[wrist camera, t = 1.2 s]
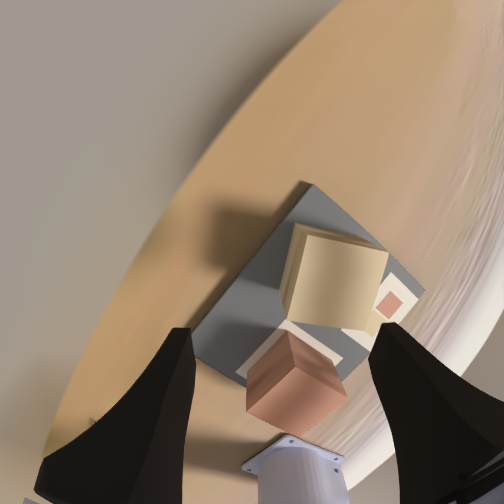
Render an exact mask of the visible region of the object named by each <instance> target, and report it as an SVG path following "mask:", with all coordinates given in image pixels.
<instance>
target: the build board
mask: <svg viewBox="0 0 504 504" xmlns="http://www.w3.org/2000/svg"><path fill="white" fill-rule="evenodd" d="M294 223H300V224H305V225H309V226H314V227H319V228H323V229H328V230H332V231H337V232H341V233H346V234H350V235H355V236H359V237H362V238H364V239H365V240H367V241H369V242H371V243H373V244H375V245H376V246H378V247H380V248H382V249H384V250H385V251H387V250H386V249H385V248H384V247H383V246H382V245H381V244H380V243H379V242H378V241H377V240H376V239H375V238H374V237H373V236H372V235H370V234H369V233H368V232H367V231H366V230H365V229H364V228H363V227H362V226H361V225H360V224H359V223H358V222H356V221H355V220H354V219H353V218H352V217H351V216H350V215H349V214H348V213H347V212H345V211H344V210H343V209H342V208H341V207H340V206H339V205H338V204H336V203H335V202H334V201H333V200H332V199H331V198H330V197H328V196H327V195H326V194H325V193H324V192H323V191H321V190H320V189H319V188H318V187H317V186H316V185H314V184H311V185H310V186H309V188H308V189H307V190H306V191H305V193H304V194H303V195H302V196H301V197H300V199H299V200H298V201H297V202H296V204H295V205H294V206H293V207H292V209H291V210H290V211H289V212H288V214H287V215H286V216H285V217H284V219H283V220H282V221H281V222H280V224H279V225H278V226H277V227H276V229H275V230H274V231H273V232H272V233H271V235H270V236H269V237H268V238H267V240H266V241H265V242H264V243H263V245H262V246H261V247H260V248H259V250H258V251H257V252H256V253H255V255H254V256H253V257H252V258H251V259H250V261H249V262H248V263H247V264H246V266H245V267H244V268H243V269H242V271H241V272H240V273H239V274H238V276H237V277H236V278H235V279H234V281H233V282H232V283H231V284H230V285H229V287H228V288H227V289H226V290H225V292H224V293H223V294H222V295H221V297H220V298H219V299H218V300H217V301H216V303H215V304H214V305H213V306H212V308H211V309H210V310H209V311H208V313H207V314H206V315H205V316H204V317H203V319H202V320H201V321H200V322H199V324H198V325H197V326H196V327H195V329H194V330H193V331H192V332H191V336H192V343H193V349H194V355H195V356H196V357H197V358H199V359H200V360H202V361H203V362H205V363H206V364H208V365H209V366H211V367H213V368H214V369H216V370H217V371H219V372H221V373H222V374H224V375H226V376H227V377H229V378H230V379H232V380H234V381H235V382H237V383H239V384H241V385H242V386H244V387H246V388H247V371H248V370H249V369H250V368H251V367H252V366H253V365H254V364H255V363H256V362H257V361H258V360H259V359H260V358H261V357H262V356H263V355H264V354H265V353H266V352H267V351H268V350H269V348H270V347H271V346H272V345H273V344H274V343H275V342H276V341H277V340H278V339H279V338H280V337H281V336H282V335H283V334H284V333H285V332H286V331H287V330H288V331H290V332H291V333H292V334H294V335H295V336H297V337H298V338H300V339H301V340H303V341H304V342H306V343H307V344H309V345H310V346H312V347H313V348H315V349H316V350H317V351H319V352H320V353H322V354H323V355H325V356H326V357H328V358H329V359H331V360H332V361H333V364H334V366H335V368H336V371H337V373H338V376H339V378H340V380H341V382H342V381H343V380H344V379H345V378H346V377H347V376H348V375H349V374H350V373H351V372H352V371H353V370H354V369H355V368H357V367H358V366H359V365H360V364H361V363H362V362H363V361H364V360H365V359H366V357H367V356H368V355H369V354H370V353H371V350H372V347H373V345H374V342H375V340H376V337H377V335H378V332H379V329H380V326H381V324H382V323H388V322H396V323H397V324H398V323H399V322H400V321H401V320H402V319H403V318H404V316H405V315H406V314H407V313H408V312H409V310H410V309H411V308H412V307H413V306H414V304H415V303H416V302H417V301H418V300H419V298H420V297H421V295H422V294H423V293H424V292H425V289H424V288H423V287H422V286H421V285H420V283H419V282H418V281H417V280H416V279H415V278H414V277H413V276H412V275H411V274H410V273H409V272H408V271H407V270H406V269H405V268H404V267H403V266H402V265H401V264H400V263H399V262H398V261H397V260H396V259H395V258H394V257H393V256H392V255H391V254H390V253H389V256H388V259H387V263H386V267H385V270H384V273H383V277H382V280H381V283H380V287H379V290H378V293H377V296H376V299H375V302H374V305H373V308H372V311H371V314H370V317H369V320H368V323H367V325H366V328H365V331H360V330H352V329H344V328H336V327H328V326H321V325H314V324H307V323H300V322H294V321H287V320H286V317H285V312H284V308H283V304H282V300H281V296H280V292H279V288H280V284H281V280H282V276H283V271H284V267H285V263H286V258H287V254H288V250H289V245H290V241H291V236H292V232H293V227H294ZM387 252H388V251H387Z"/></svg>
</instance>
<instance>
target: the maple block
mask: <svg viewBox="0 0 504 504" xmlns="http://www.w3.org/2000/svg"><path fill="white" fill-rule="evenodd" d="M388 256H389V252H387V251H385V250H384V249H382V248H380V247H378V246H376V245H375V244H373V243H371V242H369V241H367V240H365V239H364V238H362V237H359V236H355V235H350V234H346V233H341V232H337V231H332V230H328V229H323V228H319V227H314V226H309V225H305V224H300V223H294V227H293V232H292V236H291V241H290V245H289V250H288V254H287V258H286V263H285V267H284V271H283V276H282V280H281V284H280V288H279V292H280V296H281V300H282V304H283V308H284V312H285V317H286V320H287V321H294V322H300V323H307V324H314V325H321V326H328V327H336V328H344V329H352V330H360V331H365V328H366V325H367V323H368V320H369V317H370V314H371V311H372V308H373V305H374V302H375V299H376V296H377V293H378V290H379V287H380V283H381V280H382V277H383V273H384V270H385V267H386V263H387V259H388Z"/></svg>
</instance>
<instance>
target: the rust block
mask: <svg viewBox="0 0 504 504" xmlns="http://www.w3.org/2000/svg"><path fill="white" fill-rule="evenodd" d="M346 399H347V395H346V393H345V390H344V388H343V385H342V383H341V380H340V378H339V376H338V373H337V371H336V368H335V366H334V364H333V361H332V360H331V359H329V358H328V357H326V356H325V355H323V354H322V353H320V352H319V351H317V350H316V349H315V348H313V347H312V346H310V345H309V344H307V343H306V342H304V341H303V340H301V339H300V338H298V337H297V336H295V335H294V334H292V333H291V332H290V331H288V330H287V331H286V332H285V333H284V334H283V335H282V336H281V337H280V338H279V339H278V340H277V341H276V342H275V343H274V344H273V345H272V346H271V347H270V348H269V350H268V351H267V352H266V353H265V354H264V355H263V356H262V357H261V358H260V359H259V360H258V361H257V362H256V363H255V364H254V365H253V366H252V367H251V368H250V369H249V370H248V371H247V394H246V412H247V413H249V414H251V415H253V416H255V417H257V418H259V419H261V420H263V421H265V422H267V423H269V424H271V425H273V426H275V427H277V428H279V429H282V430H284V431H286V432H288V433H290V434H292V435H295V436H297V437H300V436H302V435H303V434H304V433H306V432H307V431H308V430H309V429H311V428H312V427H313V426H315V425H316V424H317V423H318V422H320V421H321V420H322V419H323V418H324V417H326V416H327V415H328V414H329V413H330V412H332V411H333V410H334V409H335V408H336V407H338V406H339V405H340V404H341V403H342V402H343V401H344V400H346Z"/></svg>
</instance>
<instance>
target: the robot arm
mask: <svg viewBox="0 0 504 504" xmlns="http://www.w3.org/2000/svg"><path fill="white" fill-rule="evenodd" d="M368 361H369V365H370V370H371V374H372V378H373V382H374V384H375V387H376V390H377V393H378V395H379V398H380V401H381V403H382V406H383V409H384V411H385V414H386V417H387V420H388V423H389V426H390V429H391V432H392V437H393V442H394V447H395V452H396V458H397V465H398V474H399V486H400V504H504V402H503V401H500V400H498V399H496V398H494V397H492V396H490V395H488V394H486V393H485V392H483V391H481V390H479V389H478V388H476V387H474V386H473V385H471V384H470V383H468V382H467V381H465V380H464V379H462V378H461V377H459V376H458V375H457V374H455V373H454V372H453V371H451V370H450V369H449V368H448V367H446V366H445V365H444V364H443V363H441V362H440V361H439V360H438V359H437V358H435V357H434V356H433V355H432V354H431V353H430V352H429V351H427V350H426V349H425V348H424V347H423V346H422V345H421V344H420V343H419V342H417V341H416V340H415V339H414V338H413V337H412V336H411V335H410V334H409V333H407V332H406V331H405V330H404V329H403V328H402V327H401V326H399V325H398V324H397V323H396V322H388V323H382V324H381V326H380V329H379V332H378V335H377V337H376V340H375V342H374V345H373V347H372V350H371V353H370V355H369V357H368ZM195 374H196V361H195V355H194V349H193V343H192V336H191V329H190V328H173V329H172V330H171V331H170V333H169V334H168V336H167V338H166V339H165V341H164V343H163V344H162V346H161V347H160V349H159V350H158V352H157V353H156V355H155V356H154V358H153V359H152V360H151V362H150V363H149V365H148V366H147V367H146V369H145V370H144V371H143V373H142V374H141V375H140V377H139V378H138V379H137V380H136V382H135V383H134V384H133V385H132V386H131V388H130V389H129V390H128V391H127V392H126V393H125V395H124V396H123V397H122V398H121V399H120V400H119V401H118V402H117V403H116V404H115V405H114V406H113V407H112V408H111V409H110V410H109V411H108V412H107V413H106V414H105V415H104V416H103V417H102V418H101V419H99V420H98V421H97V422H96V423H95V424H94V425H92V426H91V427H90V428H89V429H87V430H86V431H85V432H83V433H82V434H81V435H79V436H78V437H77V438H75V439H74V440H73V441H71V442H70V443H68V444H67V445H65V446H64V447H62V448H60V449H59V450H57V451H55V452H54V453H52V454H50V455H48V456H47V457H45V458H44V459H43V462H42V464H41V466H40V470H39V473H38V476H37V480H36V483H35V487H34V491H35V493H37V494H38V495H39V496H41V497H43V498H44V499H46V500H48V501H49V502H51V503H53V504H182V476H183V455H184V444H185V436H186V431H187V426H188V420H189V415H190V410H191V404H192V399H193V394H194V387H195ZM344 461H345V457H343V456H340V455H338V454H335V453H332V452H330V451H327V450H325V449H322V448H320V447H317V446H315V445H312V444H310V443H308V442H305V441H303V440H301V439H298V438H296V437H294V436H291V435H285V436H283V437H282V438H280V439H279V440H278V441H276V442H275V443H274V444H272V445H271V446H269V447H268V448H267V449H265V450H264V451H262V452H261V453H259V454H258V455H257V456H255V457H254V458H252V459H251V460H249V461H248V462H246V463H245V464H243V465H242V466H241V469H242V470H244V471H246V472H249V473H252V474H254V475H257V476H258V504H350V499H349V495H348V491H347V487H346V484H345V480H344V476H343V473H342V469H341V466H340V464H341V463H343V462H344ZM23 504H38V503H36V502H34V501H31V500H30V499H28V498H24V502H23Z"/></svg>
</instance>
